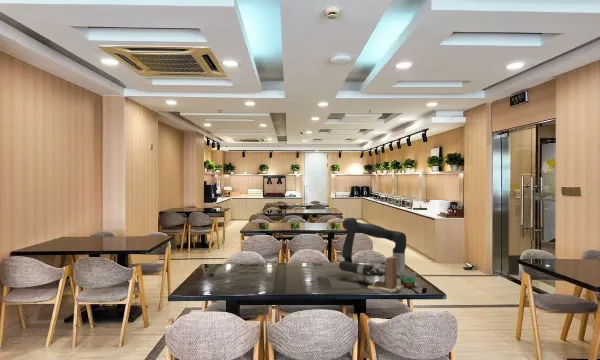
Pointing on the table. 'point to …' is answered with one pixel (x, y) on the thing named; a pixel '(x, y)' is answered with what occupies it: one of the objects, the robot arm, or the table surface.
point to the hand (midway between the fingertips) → (385, 273)
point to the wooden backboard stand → (388, 278)
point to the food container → (407, 279)
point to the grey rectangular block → (383, 270)
